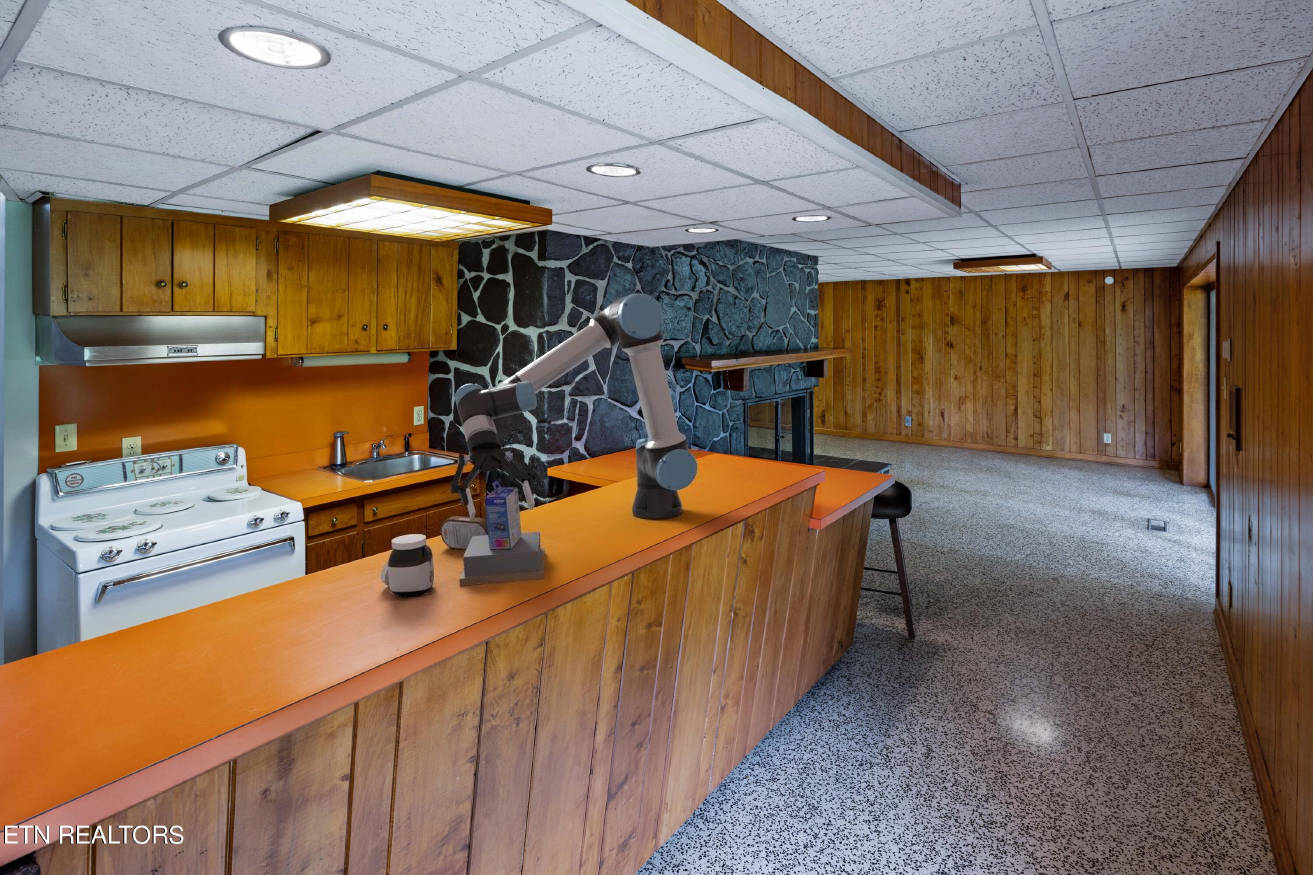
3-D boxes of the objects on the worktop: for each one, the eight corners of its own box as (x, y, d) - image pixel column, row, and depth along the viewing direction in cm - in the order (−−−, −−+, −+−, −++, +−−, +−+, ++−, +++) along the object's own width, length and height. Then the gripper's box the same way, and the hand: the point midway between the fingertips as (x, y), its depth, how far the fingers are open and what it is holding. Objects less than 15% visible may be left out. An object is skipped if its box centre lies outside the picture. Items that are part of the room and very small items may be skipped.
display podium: (545, 553, 163) (543, 530, 162) (543, 578, 145) (542, 552, 144) (470, 559, 160) (468, 535, 159) (459, 585, 142) (457, 558, 142)
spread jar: (421, 600, 135) (417, 545, 133) (367, 601, 135) (362, 546, 134) (443, 579, 147) (439, 529, 145) (393, 580, 147) (388, 529, 145)
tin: (496, 549, 167) (494, 517, 166) (489, 553, 164) (487, 520, 163) (447, 545, 172) (444, 514, 171) (439, 549, 169) (437, 517, 168)
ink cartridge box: (499, 537, 157) (495, 477, 155) (522, 536, 157) (518, 477, 155) (487, 549, 147) (482, 486, 145) (511, 549, 147) (507, 486, 145)
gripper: (528, 442, 169) (552, 511, 158) (427, 453, 157) (445, 528, 146) (534, 424, 163) (558, 494, 152) (430, 433, 151) (448, 510, 141)
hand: (503, 511), depth 149 cm, fingers open, 13 cm apart
